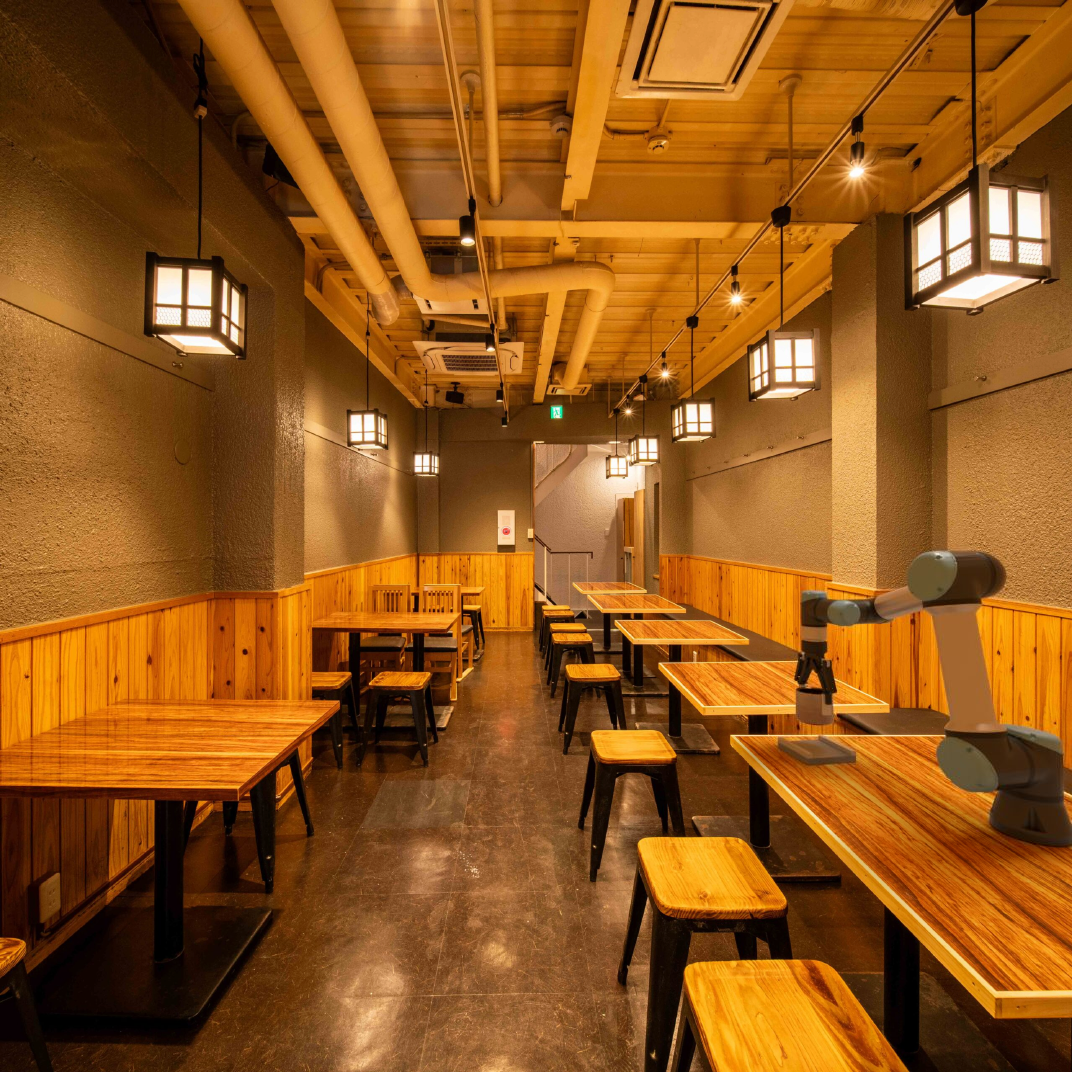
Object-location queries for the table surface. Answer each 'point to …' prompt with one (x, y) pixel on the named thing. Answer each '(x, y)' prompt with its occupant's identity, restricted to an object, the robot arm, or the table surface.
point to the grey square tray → (818, 751)
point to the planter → (812, 707)
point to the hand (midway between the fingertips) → (814, 709)
